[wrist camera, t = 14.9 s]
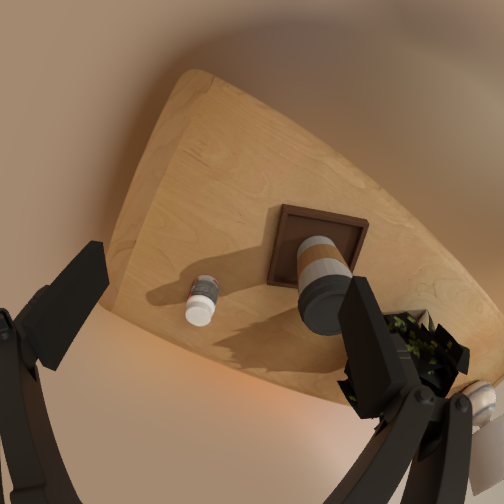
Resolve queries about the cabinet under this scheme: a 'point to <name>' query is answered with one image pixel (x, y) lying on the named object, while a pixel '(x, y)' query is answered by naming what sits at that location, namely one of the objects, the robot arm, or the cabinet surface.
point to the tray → (308, 225)
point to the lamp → (485, 438)
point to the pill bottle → (202, 300)
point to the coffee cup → (321, 284)
